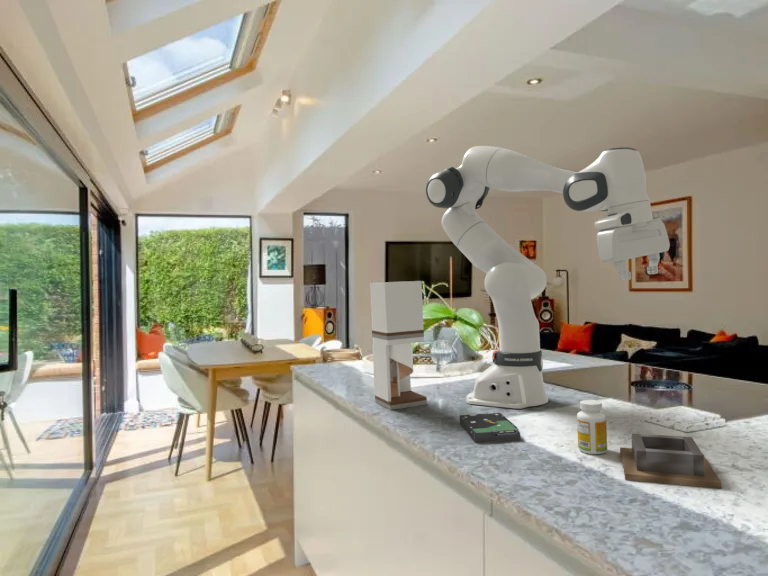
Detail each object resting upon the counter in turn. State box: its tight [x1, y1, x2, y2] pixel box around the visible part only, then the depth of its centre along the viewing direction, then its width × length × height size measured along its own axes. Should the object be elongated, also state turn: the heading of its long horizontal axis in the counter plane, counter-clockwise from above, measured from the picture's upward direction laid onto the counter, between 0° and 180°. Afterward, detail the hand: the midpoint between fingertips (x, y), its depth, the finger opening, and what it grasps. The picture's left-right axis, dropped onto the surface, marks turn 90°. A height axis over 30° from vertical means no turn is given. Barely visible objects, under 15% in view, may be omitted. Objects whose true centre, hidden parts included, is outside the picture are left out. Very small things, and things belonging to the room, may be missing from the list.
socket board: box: [619, 432, 723, 489], centre depth 91 cm, size 14×14×4 cm
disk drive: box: [459, 412, 521, 444], centre depth 118 cm, size 10×3×15 cm
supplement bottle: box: [576, 399, 608, 455], centre depth 102 cm, size 5×5×10 cm
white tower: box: [369, 280, 428, 411], centre depth 148 cm, size 11×11×35 cm
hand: (640, 277), depth 117 cm, fingers open, 8 cm apart
